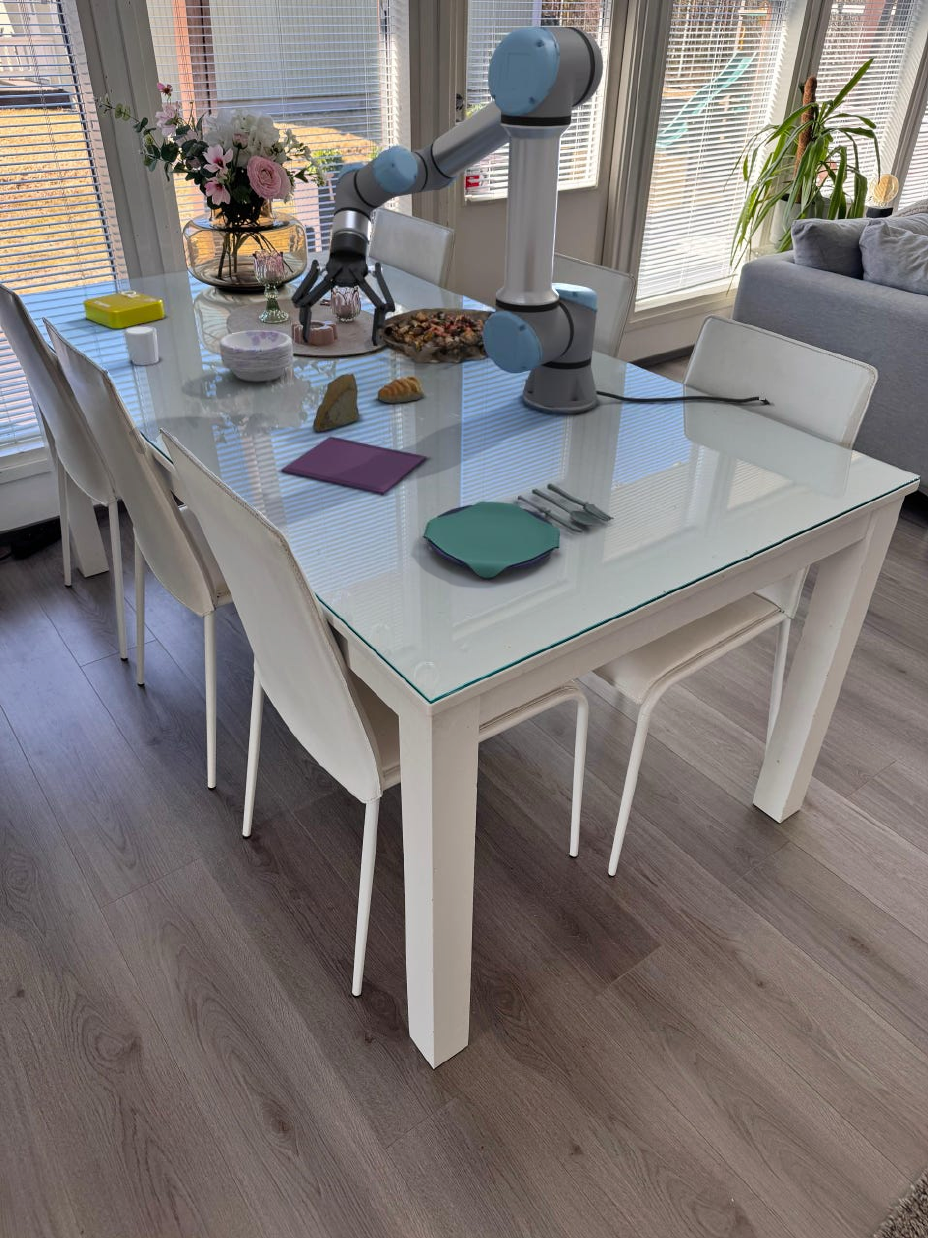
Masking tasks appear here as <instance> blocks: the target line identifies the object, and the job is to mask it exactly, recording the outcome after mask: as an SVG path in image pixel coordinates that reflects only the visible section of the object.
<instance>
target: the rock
mask: <svg viewBox="0 0 928 1238" xmlns="http://www.w3.org/2000/svg"><path fill="white" fill-rule="evenodd" d="M358 394H359V392H358V384H357V380H356V377H355V375H354V373H350V374H348V373H346V374H341V375H339V376H338V377H336V378H335V379H334V380H332V381H330V382H328V383H327V388H326V391H325V394H324V396H323V398H322V399H321V400H322V401H321V403H320V404H319V405H318V407H317V409H316V413H315V417H314V419H313V423H312V424H313V425H312V429H314V430H316V431H317V432H324V431H327V430H331V429H335V428H337V427H342V426H345V425H348V424H350V423H353V422H356V421H358V420H360V414H359V413H360V412H359V407H358Z"/></svg>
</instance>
